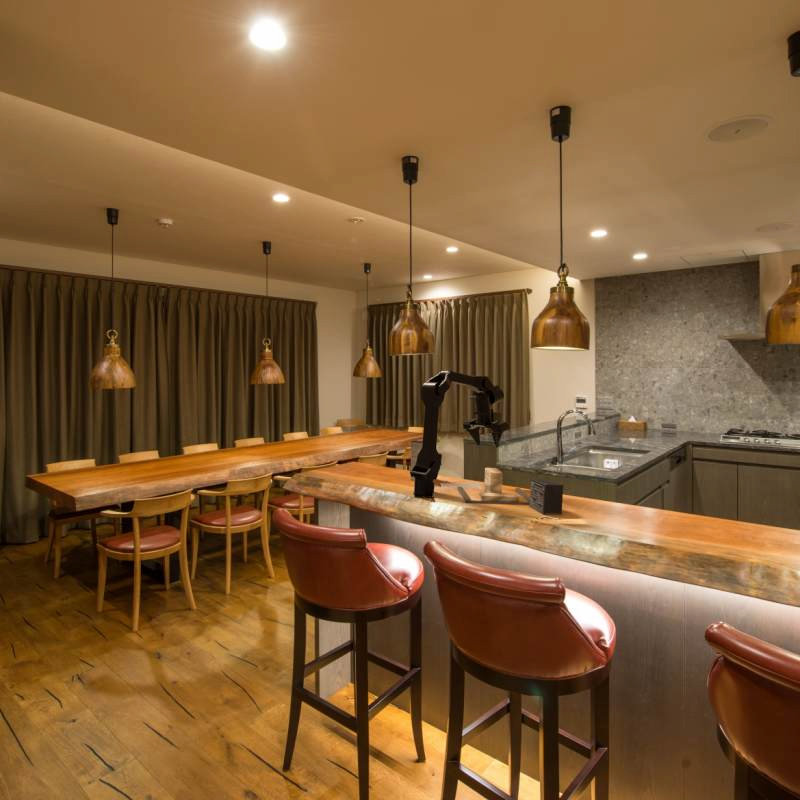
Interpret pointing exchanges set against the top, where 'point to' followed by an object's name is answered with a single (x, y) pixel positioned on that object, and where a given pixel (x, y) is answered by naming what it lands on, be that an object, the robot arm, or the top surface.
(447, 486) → the mat
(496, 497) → the upper offcut
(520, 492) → the rack
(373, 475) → the top surface
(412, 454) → the coffee box
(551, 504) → the small box
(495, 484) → the tan brown block
